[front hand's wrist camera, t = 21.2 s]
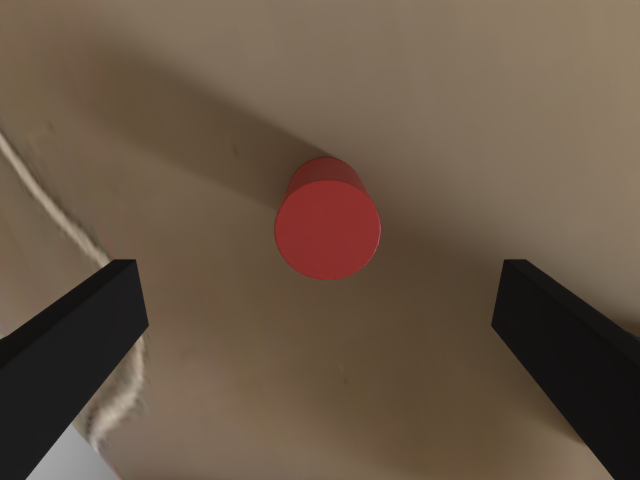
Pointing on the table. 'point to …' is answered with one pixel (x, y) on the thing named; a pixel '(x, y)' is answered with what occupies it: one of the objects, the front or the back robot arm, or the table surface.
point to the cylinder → (327, 221)
